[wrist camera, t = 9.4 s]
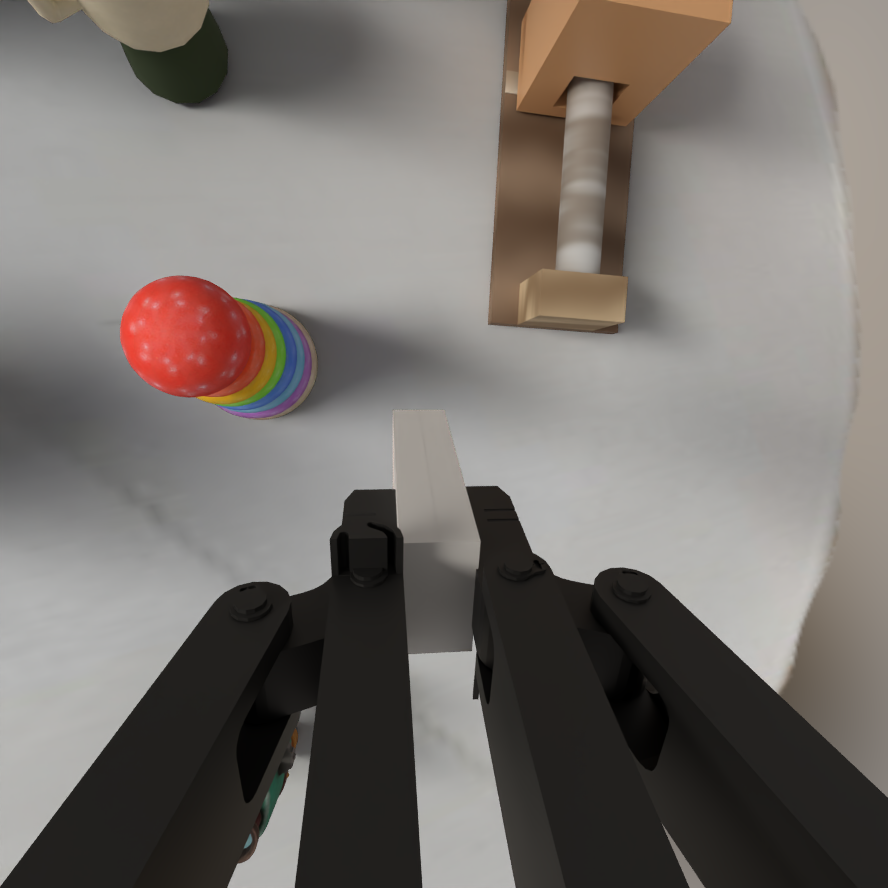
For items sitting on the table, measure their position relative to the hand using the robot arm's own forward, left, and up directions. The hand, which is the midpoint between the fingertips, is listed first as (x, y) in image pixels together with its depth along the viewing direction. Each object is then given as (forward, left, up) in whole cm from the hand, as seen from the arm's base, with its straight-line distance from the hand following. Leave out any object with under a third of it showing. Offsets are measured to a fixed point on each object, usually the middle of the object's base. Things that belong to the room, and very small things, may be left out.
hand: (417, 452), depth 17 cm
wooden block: (-16, +24, -24) cm, 37 cm away
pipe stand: (-11, +21, -25) cm, 35 cm away
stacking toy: (-7, -6, -26) cm, 27 cm away
